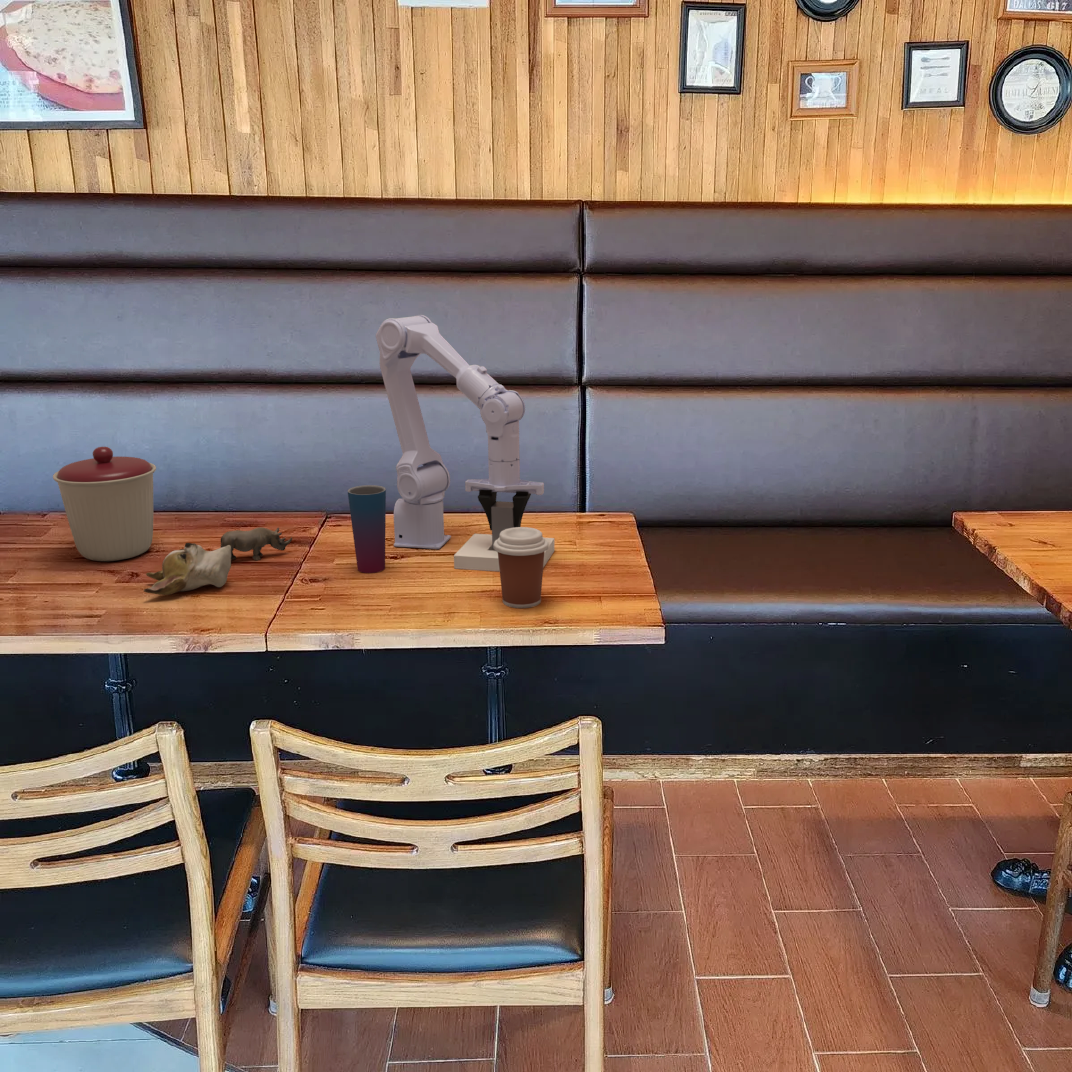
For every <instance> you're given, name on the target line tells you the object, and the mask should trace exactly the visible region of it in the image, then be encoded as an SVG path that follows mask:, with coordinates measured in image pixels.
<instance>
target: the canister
mask: <svg viewBox="0 0 1072 1072" xmlns="http://www.w3.org/2000/svg"><path fill="white" fill-rule="evenodd" d="M92 457H93V458H87V459H83V460H78V461H74V462H71V463H69V464H66V465H65V466H64V465H63V466H62V467H61V468H60V469H59V470H58V471H56V472H54V474H53V475H52V478H53V480H54V481H55V482H56V483H57V485H58V489H59V492H60V497H61V501H62V503H63V507H64V511H65V514H66V518H67V522H68V524H69V525H68V526H69V528H70V531H71V535H72V538H73V542H74V544H75V548H76V550H77V552H78V553H79V554H80V555H81V556H82V557H83V558H85V559H87V560H90V561H95V562H96V561H97V562H114V561H115V562H116V561H122V560H126V559H131V558H135V557H139V556H141V555H142V554H143V553H145V552H147V551H148V550H149V549H150V547H151V546H152V543H153V536H154V473H155V472H156V471H157V466H156V465H155V464H154V463H151V462H148V460H145V459H142V458H140V457H133V456H114V451H113V450H112V448H110V447H108V446H98V447H96V448H94V450H93V451H92Z"/></svg>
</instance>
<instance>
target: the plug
mask: <svg viewBox="0 0 1072 1072" xmlns="http://www.w3.org/2000/svg"><path fill="white" fill-rule="evenodd" d="M491 515H492V531H491V535H492V548H493V544H494V542H495V540H497V539H498V538H499V537H500V536H499V535H500V533H501V531H503V530H505V529H509V528H514V506H513V501H501V500H500V501H498V500H496V503H495V504H494V505H493V506H492V507H491Z"/></svg>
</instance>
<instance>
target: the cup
mask: <svg viewBox="0 0 1072 1072" xmlns="http://www.w3.org/2000/svg"><path fill="white" fill-rule="evenodd" d="M386 495H387V489H386V487H385V486H381V485H374V484H371V485H370V484H365V485H357V486H353V487H350V488H348V489H347V498H348V504H349V512H350V513H349V515H350V520H351V530H352V536H353V544H354V553H355V559H356V560H355V561H356V566H357V567H356V569H357V571H358V572H360V573H364V574H375V573H380V572H382V571H384V570H385V569H386V522H387V521H386V519H387V518H386V517H387V516H386V515H387V514H386V513H387V511H386V510H387V507H386V506H387V503H386V502H387V500H386V499H387V498H386V497H387V496H386Z"/></svg>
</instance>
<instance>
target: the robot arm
mask: <svg viewBox="0 0 1072 1072" xmlns="http://www.w3.org/2000/svg"><path fill="white" fill-rule="evenodd" d="M375 339H376V341H377V346H378V349H379V368H380V369H379V370H380V371H381V376H382V379H383V384H384V387H385V388H384V389H385V391H386V395H387V398H388V402H389V403H388V404H389V406H390V411H391V415H392V419H393V422H394V425H395V429H396V430H395V431H396V433H397V437H398V440H399V445H400V449H401V453H402V456H401V457H400V458H399V460H398V462H397V464H396V465H395V469H396V474H397V479H396V486H397V491H398V493H399V495H400V497H401V498H400V497H399V498H398V499H397V500H396V502H395V504H394V507H393V528H394V529H393V530H394V531H393V532H394V543H393V547H397V548H398V547H400V548H417V549H418V548H419V549H432V550H433V549H434V550H435V549H436V550H440V549H441V548H442V547H443V546H444V545H445V544H446V543H447V542H448V541H449V540H450V539H451V537H452V535H450V534H445V524H444V523H445V522H444V498H445V497H446V495H445V494H446V493H445V492H446V491H447V490H448V489H449V487H450V485H451V474H450V472H449V471H448V468H447V467H446V465H445V464H444V462H443V458H442V456H441V454H440V453H439V452H437V451H436V450H434V449H433V448H431V445H430V440H429V437H428V432H427V429H426V425H425V422H424V418H423V413H422V409H421V405H420V402H419V398H418V394H417V390H416V387H415V383H414V380H413V375H412V371H411V368H412V366H413V365H414V363H415V361H416V360H417V358H418V357H420V355H427V356H428V357H429V358H431V359H432V360H433V361H434V362H435V363H436V364H437V365H439V366H440V367H442V368H443V369H444V370H445V371H446V372H448V373H449V374H450V375H451V376H453V377H454V378H455V379H456V389H458V390H459V391H460V392H461V393H462V394H463V395H464V396H465V397H466V398H467V399H468V400H469V401H470V402H471V403H473V404H474V405H475V406H476V408H478V409H479V413H480V418H481V419H482V421H483V423H484V425H485V432H486V433H487V448H488V449H487V450H488V451H487V452H488V453H487V454H488V455H487V456H488V460H487V461H488V478H478V479H477V478H476V479H475V478H473V479H472V478H470V479H469V478H468V479H467V480H465V481H464V483H465V484H464V485H465V492H467V493H471V492H478V495H477V499H478V502H479V503H480V505H481V507H482V508H483V511H484V513H485V517H486V518H487V521H488V526H489V531H491V532H492V515H491V507H492V506H493V505H494V504H495V503H496V502H497V496H498V494H497V493H505V494H506V493H510V494H512V493H513V494H514V495H513V496H512V502H513V506H514V528H515V527H522V526H521V525H522V520H523V516H524V513H525V510H526V507H527V505H528V502H529V501H530V498H531V496H532V495H537V496H542V495H543V494H544V492H545V483H544V482H539V481H531V480H525V479H521V477H520V476H521V475H520V474H521V472H520V471H521V470H520V469H521V468H520V420H522V418H524V415H525V413H526V405H525V401H524V400H523V397H522V396H521V395H520V393H519V392H518V391H516V390H513V389H512V390H511V389H509V390H508V389H507V388H506V387H505V386H504V385H502V384H500V383H498V382H497V380H495V379H494V378H493V377H492V376H490V375H489V373H488V369H487V368H486V367H485V366H484V365H478V364H472V365H470V364H469V363H468V362H467V361H466V360H465V359H464V358H463V357H462V356H461V355H460V354H459V352H457V350H456V349H454V348H453V346H452V345H451V344H450V343H449V342H448V341H447V340H446V339H445V338H444V337H443V336H442V334H441V333H440V331H439V326H438V325H437V324H435V323H434V322H432V321H431V319H430V318H429V317H428V316H426V315H424V314H417V315H413V316H407V317H398V318H397V317H396V318H393V317H390V318H387V319H385V320H383V321H382V322H381V324H380V326H379V328H378V330H377V332H376V333H375Z"/></svg>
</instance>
